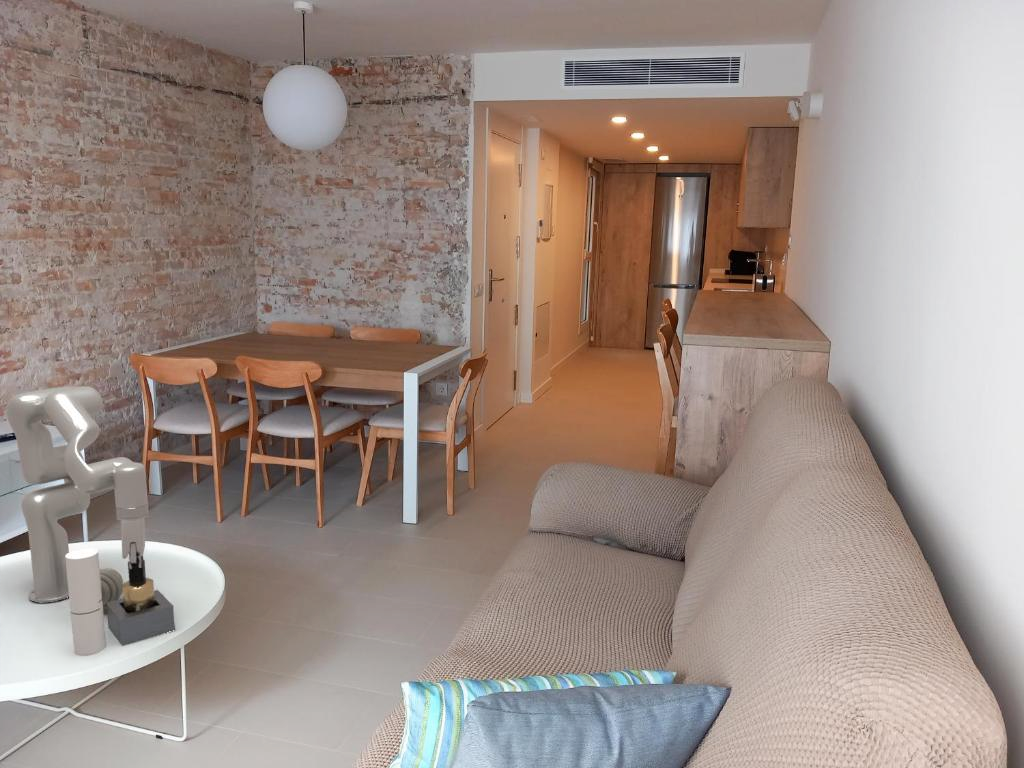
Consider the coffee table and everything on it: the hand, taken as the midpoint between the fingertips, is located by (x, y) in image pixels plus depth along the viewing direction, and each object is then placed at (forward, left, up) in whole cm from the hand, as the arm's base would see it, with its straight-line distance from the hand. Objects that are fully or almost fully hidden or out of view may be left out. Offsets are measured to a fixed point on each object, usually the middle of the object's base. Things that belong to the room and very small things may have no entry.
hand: (137, 577), depth 214 cm
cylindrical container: (+3, -13, -14) cm, 20 cm away
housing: (0, 0, -14) cm, 14 cm away
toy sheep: (-20, -4, -14) cm, 25 cm away
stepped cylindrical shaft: (0, 0, -7) cm, 7 cm away
